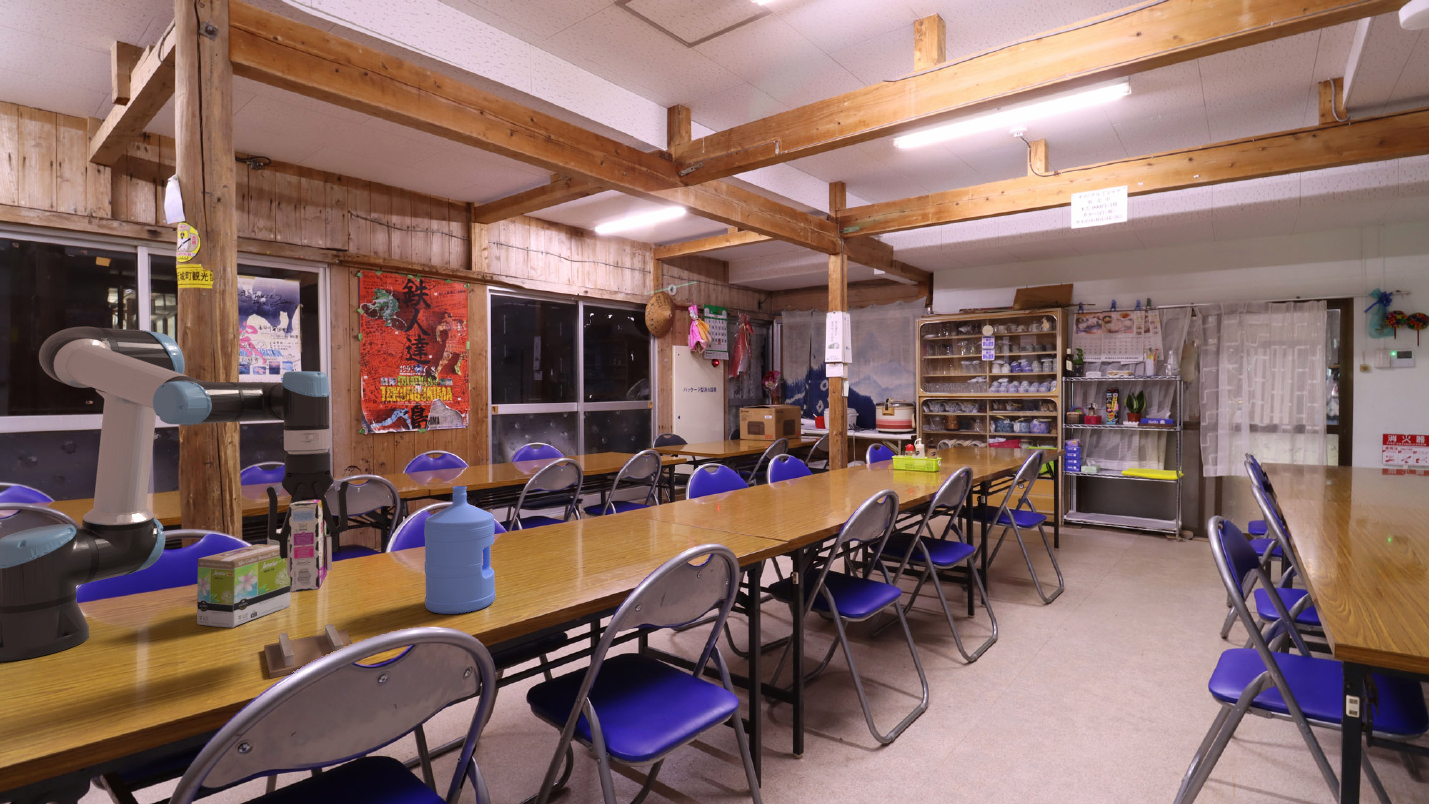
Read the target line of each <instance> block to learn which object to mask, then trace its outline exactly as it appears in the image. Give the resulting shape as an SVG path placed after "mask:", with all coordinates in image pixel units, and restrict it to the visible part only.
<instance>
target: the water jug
mask: <svg viewBox="0 0 1429 804" xmlns="http://www.w3.org/2000/svg"><path fill="white" fill-rule="evenodd" d="M467 488H468V487H467V486H466V485H459V486H458V485H456V486H452V488H451V489H452V491H453V492H452V503H451V505H449V506H447V507H445V508H443V509H441V510H439V511H437V512H435V513H433V514H432V515H430V516H427V517H426V519H425V520H424V527H423V531H424V532H423V534H424V536H423V537H424V550H425V551H424V574H425V598H424V606H425V608H426V610H428V611H429V612H431V613H434V614H440V615H459V613H460V614H464V613H465V614H466V612H467V613H471V611H472V612H476V611H480V610H482V609H485V608H486V607H488V606H490V605H491V604H493V603H494V601H495V600H496V588H495V587H496V585H495V584H496V582H495V580H496V579H495V575H496V574H495V570H494V569H493V568H492V566H491V565H492V563H491V562H492V561H491V559H492V558H491V556H492V555H491V554H492V553H491V551H492V550H491V546H492V545H494V544H495V531H496V527H495V526H496V525H495V524H496V523H495V515H494V514H493V513H491V512H490V511H486V510H484V509H481V508H480V507H476V506H475V505H471V504H469V503H468V500H467V496H468V494H467Z"/></svg>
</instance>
